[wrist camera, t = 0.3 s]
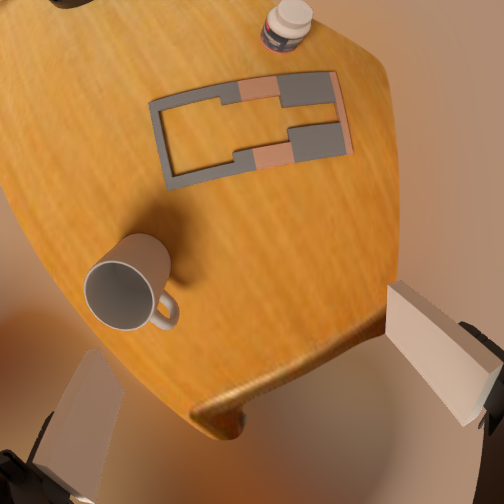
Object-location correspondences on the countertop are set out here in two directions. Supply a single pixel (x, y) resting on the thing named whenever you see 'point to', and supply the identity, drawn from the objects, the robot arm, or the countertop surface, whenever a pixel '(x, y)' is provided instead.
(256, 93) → the keyhole board
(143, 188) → the countertop surface
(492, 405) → the robot arm
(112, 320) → the mug
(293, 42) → the pill bottle
